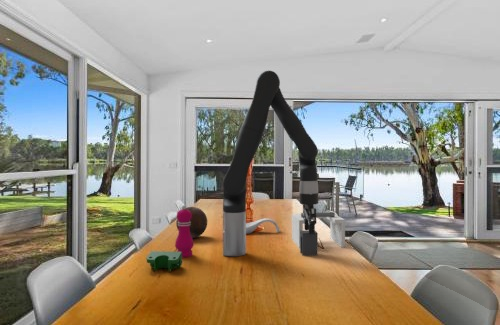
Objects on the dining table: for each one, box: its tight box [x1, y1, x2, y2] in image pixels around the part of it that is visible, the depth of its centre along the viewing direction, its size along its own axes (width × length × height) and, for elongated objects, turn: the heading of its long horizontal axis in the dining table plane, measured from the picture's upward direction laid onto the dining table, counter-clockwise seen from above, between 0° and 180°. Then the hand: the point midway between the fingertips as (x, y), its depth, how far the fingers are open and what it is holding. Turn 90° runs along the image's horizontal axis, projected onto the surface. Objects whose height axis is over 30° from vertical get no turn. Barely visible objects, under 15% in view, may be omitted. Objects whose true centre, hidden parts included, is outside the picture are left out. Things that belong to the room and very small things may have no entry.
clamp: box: [146, 250, 183, 273], centre depth 136 cm, size 12×6×9 cm, turn 80°
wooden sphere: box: [175, 206, 208, 239], centre depth 189 cm, size 15×15×15 cm
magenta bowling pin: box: [174, 205, 195, 258], centre depth 155 cm, size 7×7×20 cm
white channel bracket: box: [291, 212, 346, 249], centre depth 177 cm, size 20×18×14 cm
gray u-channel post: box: [299, 230, 319, 257], centre depth 157 cm, size 6×5×9 cm
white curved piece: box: [246, 217, 280, 234], centre depth 203 cm, size 24×12×7 cm, turn 93°
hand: (309, 232), depth 157 cm, fingers open, 8 cm apart
